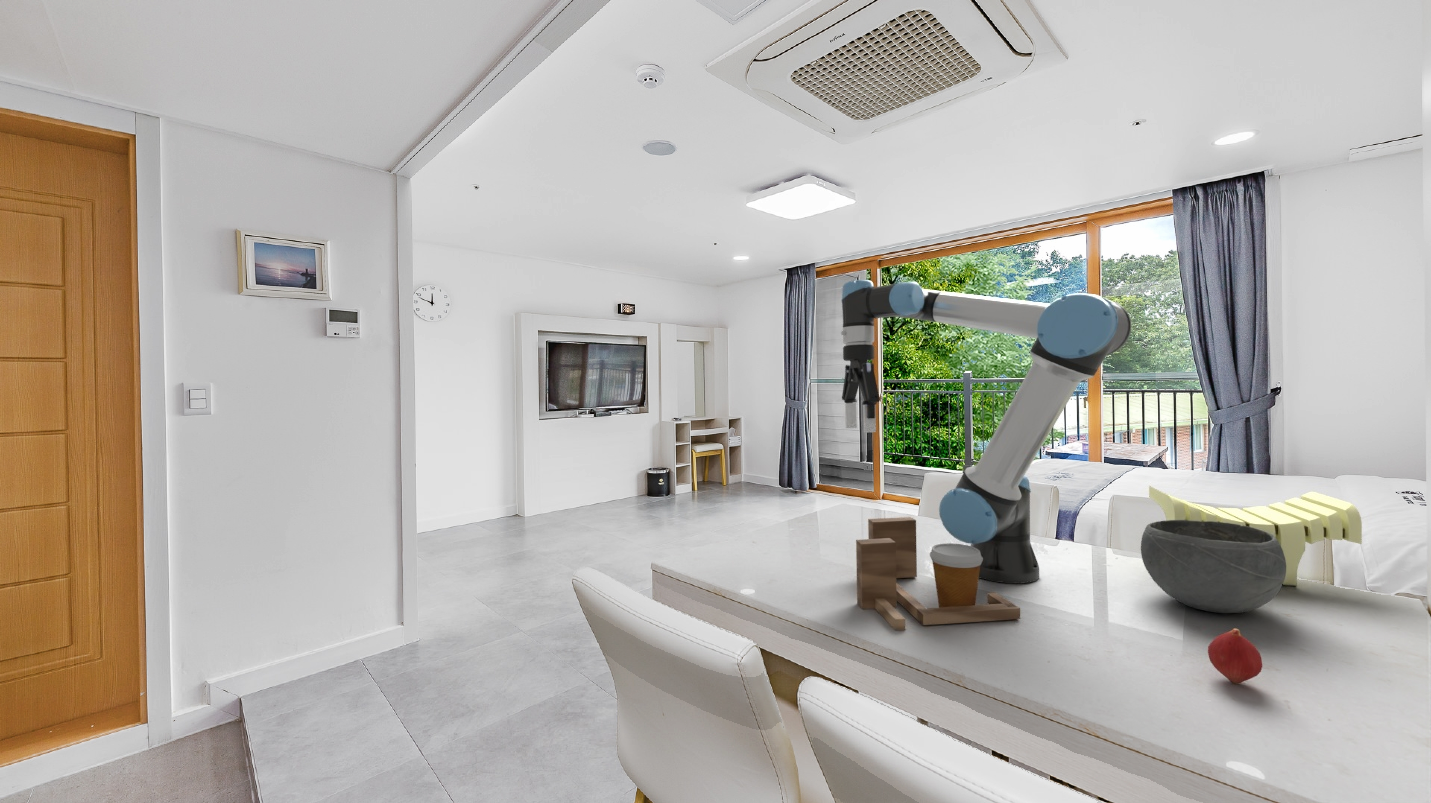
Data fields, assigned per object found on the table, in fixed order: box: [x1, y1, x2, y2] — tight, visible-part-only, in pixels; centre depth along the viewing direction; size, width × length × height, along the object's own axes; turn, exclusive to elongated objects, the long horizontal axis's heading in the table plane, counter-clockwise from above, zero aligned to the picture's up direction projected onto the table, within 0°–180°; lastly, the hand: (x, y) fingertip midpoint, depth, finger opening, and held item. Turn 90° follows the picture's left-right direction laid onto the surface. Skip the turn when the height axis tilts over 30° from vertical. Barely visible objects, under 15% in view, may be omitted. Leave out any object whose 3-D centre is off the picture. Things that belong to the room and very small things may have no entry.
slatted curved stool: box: [1148, 485, 1363, 587], centre depth 125 cm, size 30×16×18 cm, turn 68°
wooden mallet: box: [855, 538, 906, 631], centre depth 108 cm, size 13×7×13 cm, turn 5°
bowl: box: [1140, 519, 1286, 614], centre depth 109 cm, size 21×21×15 cm
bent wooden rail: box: [867, 516, 1021, 626], centre depth 117 cm, size 27×19×13 cm
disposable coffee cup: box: [929, 542, 983, 608], centre depth 110 cm, size 10×10×12 cm
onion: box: [1207, 628, 1263, 685], centre depth 82 cm, size 6×6×8 cm
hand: (860, 430), depth 141 cm, fingers open, 13 cm apart
